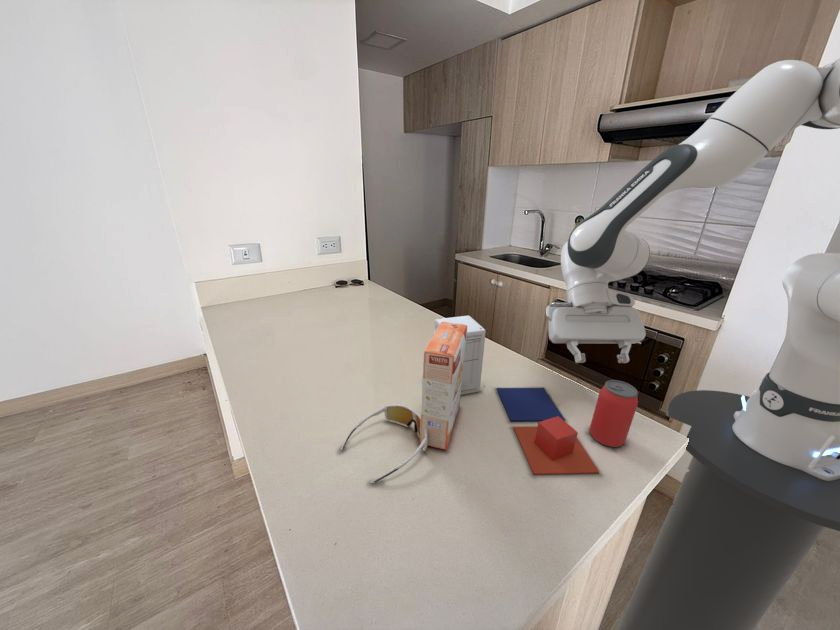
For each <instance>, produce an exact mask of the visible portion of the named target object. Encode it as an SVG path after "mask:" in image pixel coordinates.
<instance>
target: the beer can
mask: <svg viewBox="0 0 840 630" xmlns="http://www.w3.org/2000/svg"><path fill="white" fill-rule="evenodd" d="M638 393H639V391H638V390H637V388H636V387H634V386H633V385H631V384H630V383H629V382H627V381H626V382H625V381H623V380H618V379H609V380H607V381H605V382H604V384H603V386H602V387H601V389H600V390H599V393H598V396H597V400H596V403H595V407H594V411H593V415H592V417H591V421H590V425H589V433H590V435H591V437H592V438H593V439H594V440H595V441H597V443H600V444H602V445H604V446H607V447H610V448H619V447H621V446H623V445H624V444H625V443H626V441H627V437H628V435H629V432H630V429H631V426H632V424H633V420H634V417H635V414H636V411H637V408H638V405H639V399H638Z"/></svg>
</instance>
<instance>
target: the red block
mask: <svg viewBox="0 0 840 630" xmlns="http://www.w3.org/2000/svg"><path fill="white" fill-rule="evenodd" d="M537 422H538V423H537V426H536V427H537V432H536V437H535V443H536V444H537V445H538V446H539V447H540V448H541V449H542V450H543V451H544V452H545V453H546V454H547V455H548V456H549V457H550V458H551V459H552V460H555V459H558V458H560V457H563V456H566V455H569V454H571V453H573V450H574V446H575V442H576V438H577V439H578V434H579V432H578V431H577V430H576V429H575V428H573V427H572V426H571V425H570V424H568V423H567V422H566V420H565V421H564V420H562V419H561V418H560V417H559V416H557V417H554V418H550V419H547V420H544V421H537Z"/></svg>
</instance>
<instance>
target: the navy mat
mask: <svg viewBox="0 0 840 630" xmlns="http://www.w3.org/2000/svg"><path fill="white" fill-rule="evenodd" d="M496 391H497V394H498V396H499V399H500V400H501V401H500V402H501V403H502V405H503V408H504V411H505V412H506V415H507V418H508V419H509V421H510V423H514V422H515V423H517V422H519V423H521V422H526V423H527V422H530V423H531V422H533V423H534V422H540V421H544V420H547V419H550V418H554V417H557V416H559V417H560V418H561V419H562V420H564V421H565V422H566V419H565V418H564V416H563V414H562V413H561V411H560V410H559V409H558V407H557V405H556V404H555V402H554V400H553V399H552V398H551V396H550V394H549V393H548V391H547V390H546V388H545V387H496Z"/></svg>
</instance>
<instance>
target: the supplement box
mask: <svg viewBox="0 0 840 630" xmlns="http://www.w3.org/2000/svg"><path fill="white" fill-rule="evenodd" d="M441 322H448V323H456V324H463V325H467V334H466V344H465V353H464V363H463V373H462V383H461V393H460V396H463V395H468V394H473V393H479V392H480V391H481V381H482V371H483V362H484V361H483V360H484V351H485V344H486V343H485V342H486V334H487V333H486V329H485V328H484V327H483V326H482V325H481V324H479V322H477V321H476V320H475V319H474V318H473V317H471V316H470V315H469V314H468V315H461V316H452V317H444V318H435V319H434V332H433V334H434V333H435V332H436V330H437V328H438V326H439V325H440V323H441Z"/></svg>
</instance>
